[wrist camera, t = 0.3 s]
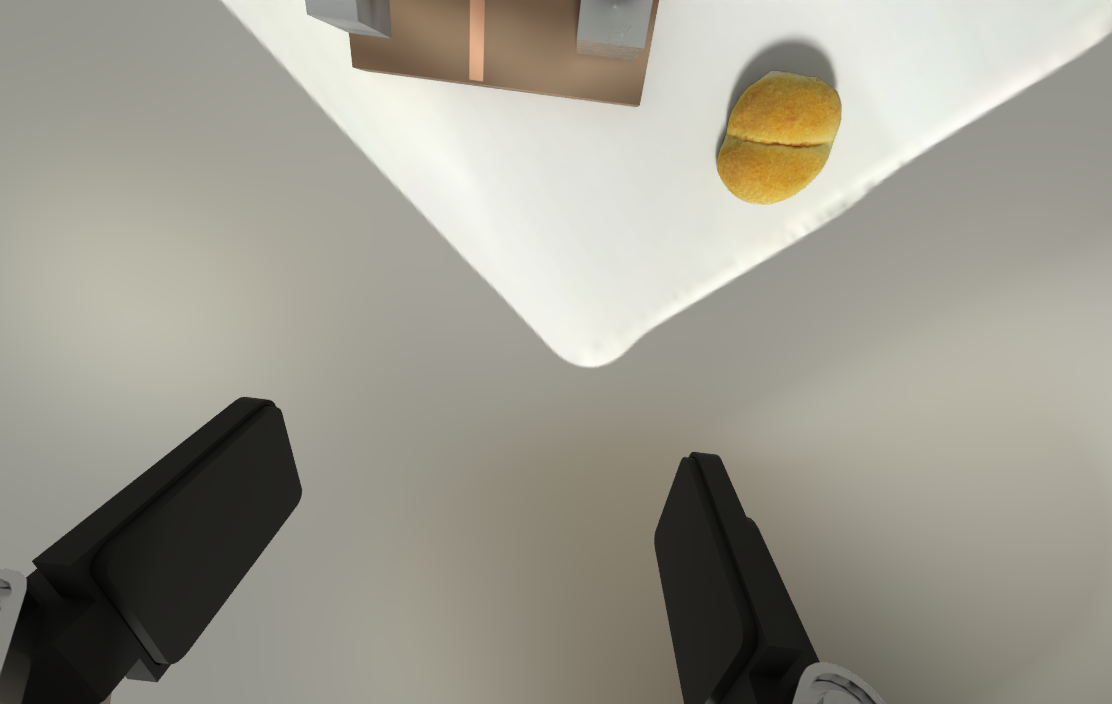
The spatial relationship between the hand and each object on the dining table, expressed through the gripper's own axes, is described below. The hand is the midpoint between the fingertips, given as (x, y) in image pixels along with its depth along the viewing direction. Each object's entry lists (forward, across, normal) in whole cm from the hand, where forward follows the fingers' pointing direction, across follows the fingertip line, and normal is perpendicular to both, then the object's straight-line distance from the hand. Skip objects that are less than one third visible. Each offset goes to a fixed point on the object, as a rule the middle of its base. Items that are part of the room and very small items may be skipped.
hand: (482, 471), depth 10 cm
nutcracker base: (+30, +5, -15) cm, 34 cm away
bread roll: (+30, -16, -9) cm, 36 cm away
